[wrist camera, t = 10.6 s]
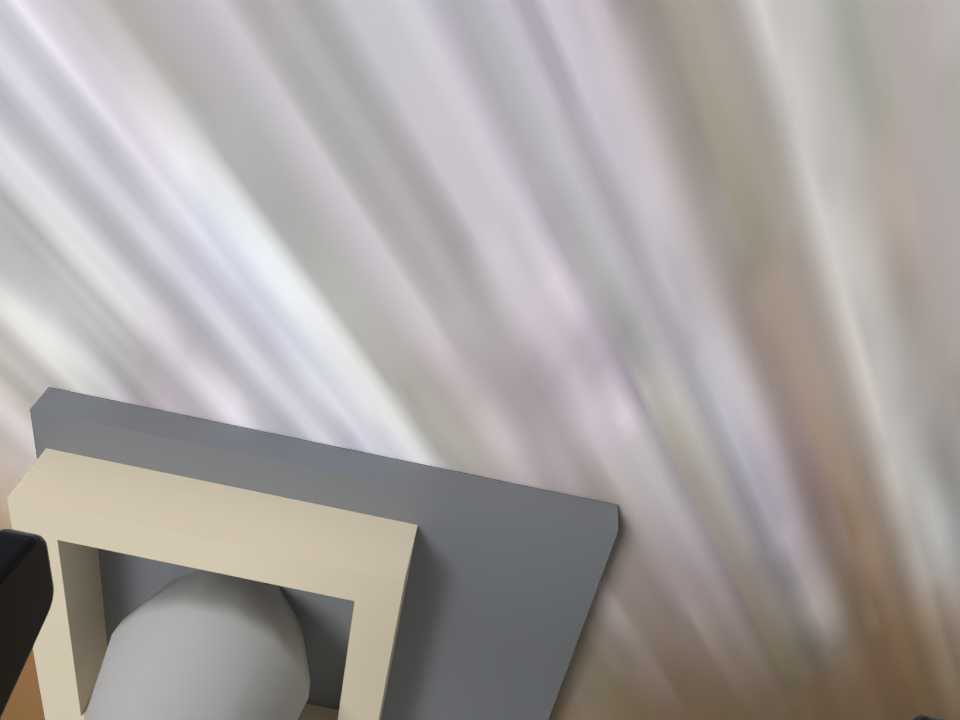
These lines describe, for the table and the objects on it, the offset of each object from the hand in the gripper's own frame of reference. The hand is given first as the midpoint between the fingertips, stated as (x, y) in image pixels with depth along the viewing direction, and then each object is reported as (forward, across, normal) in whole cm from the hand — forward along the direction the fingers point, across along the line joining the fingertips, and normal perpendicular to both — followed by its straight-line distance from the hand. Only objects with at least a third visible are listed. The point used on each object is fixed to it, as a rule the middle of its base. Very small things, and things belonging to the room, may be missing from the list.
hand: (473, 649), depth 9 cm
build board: (+13, +4, +16) cm, 21 cm away
